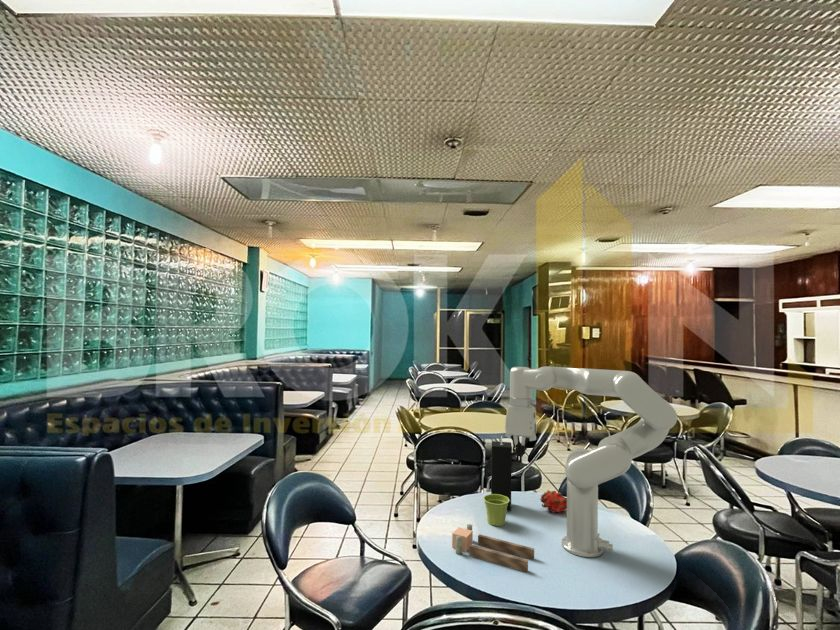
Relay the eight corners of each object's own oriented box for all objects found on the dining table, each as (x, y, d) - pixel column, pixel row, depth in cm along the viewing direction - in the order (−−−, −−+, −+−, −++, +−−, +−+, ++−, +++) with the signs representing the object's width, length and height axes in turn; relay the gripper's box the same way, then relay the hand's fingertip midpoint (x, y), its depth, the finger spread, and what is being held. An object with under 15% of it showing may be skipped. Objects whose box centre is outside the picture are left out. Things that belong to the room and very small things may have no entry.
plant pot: (493, 530, 149) (494, 505, 149) (478, 520, 157) (478, 496, 157) (514, 525, 153) (514, 501, 153) (498, 515, 161) (498, 492, 162)
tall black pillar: (490, 509, 166) (491, 437, 167) (490, 501, 174) (491, 433, 175) (511, 511, 165) (512, 439, 166) (510, 503, 173) (511, 434, 174)
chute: (534, 556, 132) (535, 540, 132) (526, 574, 122) (526, 556, 122) (467, 538, 142) (468, 523, 143) (454, 553, 133) (455, 537, 133)
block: (472, 544, 139) (472, 530, 139) (466, 551, 134) (466, 537, 134) (458, 540, 141) (458, 527, 141) (452, 547, 137) (452, 533, 137)
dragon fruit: (537, 512, 168) (568, 520, 166) (541, 507, 161) (573, 514, 159) (538, 491, 173) (569, 497, 171) (542, 484, 166) (574, 491, 164)
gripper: (544, 403, 147) (544, 456, 146) (503, 399, 154) (502, 450, 154) (540, 406, 141) (539, 462, 140) (496, 402, 148) (496, 455, 147)
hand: (520, 455), depth 147 cm, fingers closed
